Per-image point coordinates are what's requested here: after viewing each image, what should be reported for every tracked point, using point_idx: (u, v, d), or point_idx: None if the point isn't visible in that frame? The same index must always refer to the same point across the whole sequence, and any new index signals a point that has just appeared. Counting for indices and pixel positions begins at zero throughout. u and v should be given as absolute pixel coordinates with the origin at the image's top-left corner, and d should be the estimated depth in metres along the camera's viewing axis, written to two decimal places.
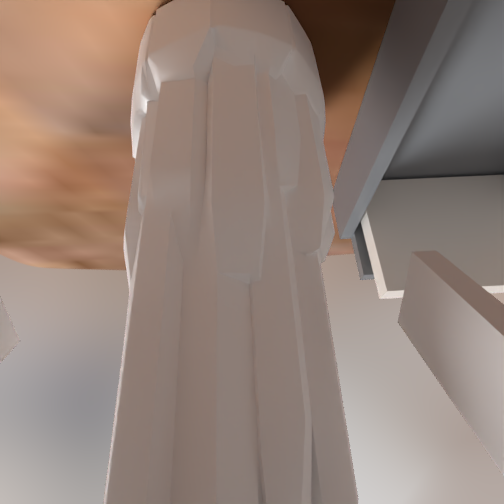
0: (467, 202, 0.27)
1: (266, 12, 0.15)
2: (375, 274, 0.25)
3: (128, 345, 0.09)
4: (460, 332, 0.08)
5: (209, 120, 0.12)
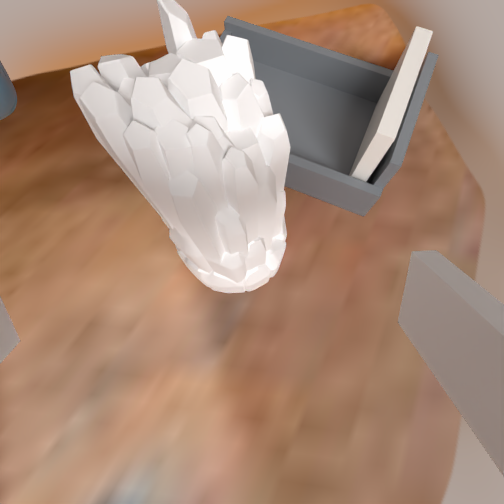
0: (373, 117, 0.36)
1: None
2: (382, 150, 0.29)
3: None
4: (460, 332, 0.08)
5: None
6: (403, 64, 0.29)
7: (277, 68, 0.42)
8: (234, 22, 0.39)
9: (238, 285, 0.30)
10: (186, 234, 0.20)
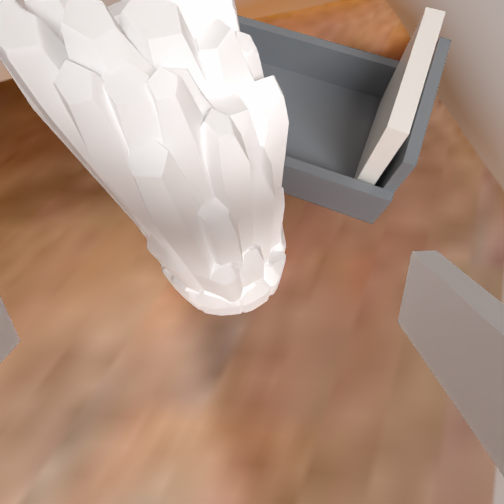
0: (379, 112, 0.32)
1: None
2: (393, 148, 0.25)
3: (102, 185, 0.15)
4: (460, 332, 0.08)
5: None
6: (413, 49, 0.25)
7: (270, 64, 0.38)
8: None
9: (233, 305, 0.26)
10: (165, 241, 0.16)
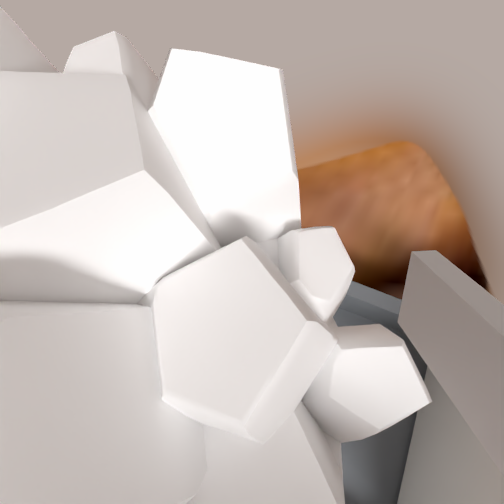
0: (438, 422, 0.19)
1: None
2: None
3: None
4: (460, 332, 0.08)
5: None
6: None
7: None
8: None
9: None
10: None
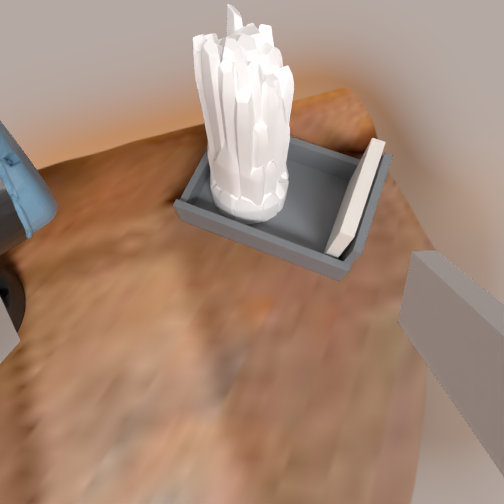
0: (344, 199, 0.44)
1: None
2: (346, 242, 0.36)
3: None
4: (460, 332, 0.08)
5: None
6: (361, 172, 0.37)
7: None
8: None
9: (257, 209, 0.42)
10: (232, 149, 0.32)
